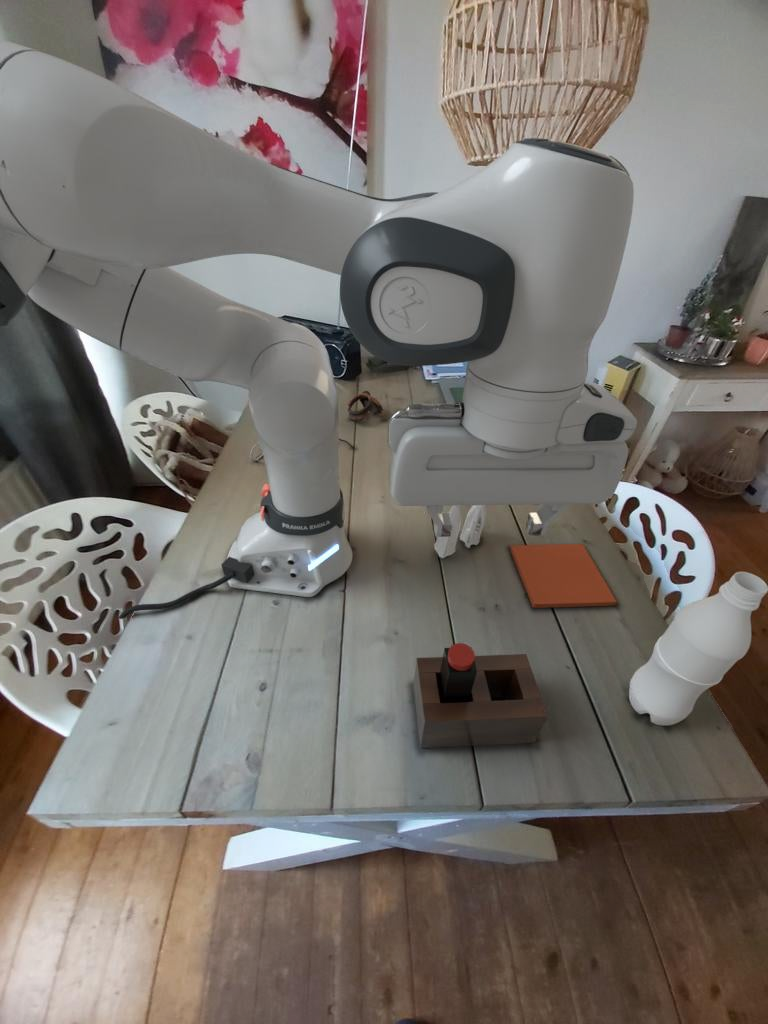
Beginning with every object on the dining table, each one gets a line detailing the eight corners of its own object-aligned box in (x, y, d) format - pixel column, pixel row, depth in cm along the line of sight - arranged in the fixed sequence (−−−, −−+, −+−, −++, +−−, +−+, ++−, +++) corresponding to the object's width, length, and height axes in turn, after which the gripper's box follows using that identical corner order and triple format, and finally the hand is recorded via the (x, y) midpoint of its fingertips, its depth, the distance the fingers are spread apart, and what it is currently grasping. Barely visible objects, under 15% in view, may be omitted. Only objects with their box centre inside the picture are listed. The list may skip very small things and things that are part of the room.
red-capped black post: (437, 726, 57) (450, 667, 48) (434, 702, 60) (445, 642, 51) (461, 725, 57) (478, 666, 49) (457, 701, 60) (472, 641, 51)
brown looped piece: (388, 427, 121) (376, 406, 114) (358, 439, 123) (344, 420, 117) (384, 398, 128) (371, 377, 121) (355, 411, 130) (341, 391, 124)
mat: (533, 608, 73) (534, 604, 72) (509, 549, 84) (510, 545, 83) (615, 605, 73) (617, 601, 73) (581, 547, 84) (583, 543, 84)
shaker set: (440, 566, 80) (447, 519, 73) (425, 553, 82) (430, 506, 75) (486, 540, 85) (497, 495, 78) (471, 528, 88) (480, 483, 81)
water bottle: (656, 741, 56) (768, 621, 41) (611, 694, 61) (694, 570, 45) (692, 716, 59) (809, 594, 43) (645, 672, 64) (735, 549, 48)
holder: (534, 743, 56) (548, 716, 52) (420, 748, 55) (424, 722, 51) (515, 681, 62) (526, 653, 58) (413, 685, 62) (416, 657, 57)
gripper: (390, 422, 33) (386, 555, 41) (659, 422, 33) (599, 552, 42) (386, 387, 37) (383, 513, 46) (621, 388, 38) (574, 511, 47)
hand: (488, 532), depth 44 cm, fingers open, 8 cm apart
